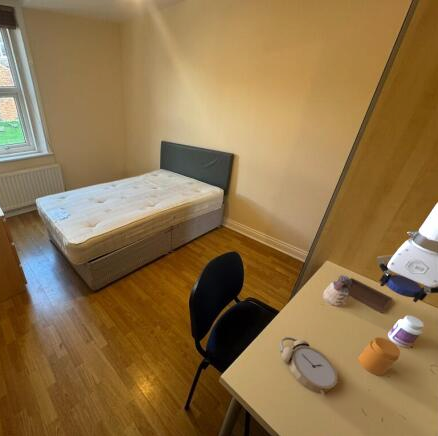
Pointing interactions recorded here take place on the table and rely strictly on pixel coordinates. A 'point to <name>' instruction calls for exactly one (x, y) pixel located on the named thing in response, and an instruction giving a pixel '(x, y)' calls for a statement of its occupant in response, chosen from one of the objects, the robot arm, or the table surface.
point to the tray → (369, 296)
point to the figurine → (338, 291)
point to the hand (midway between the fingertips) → (398, 291)
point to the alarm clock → (309, 366)
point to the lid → (403, 286)
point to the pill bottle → (406, 331)
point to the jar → (379, 356)
